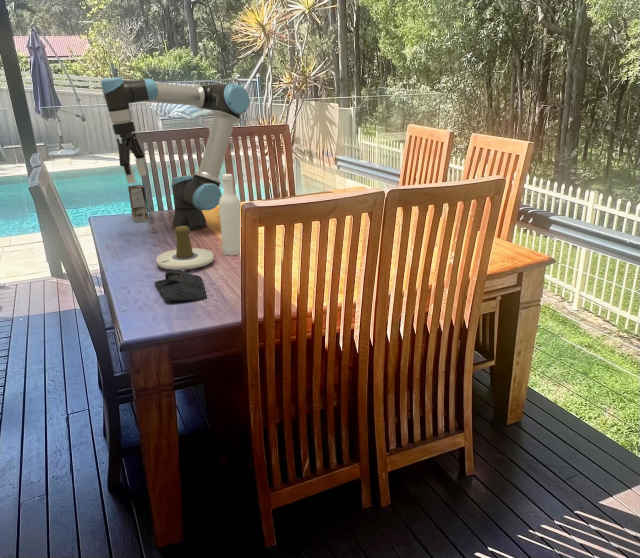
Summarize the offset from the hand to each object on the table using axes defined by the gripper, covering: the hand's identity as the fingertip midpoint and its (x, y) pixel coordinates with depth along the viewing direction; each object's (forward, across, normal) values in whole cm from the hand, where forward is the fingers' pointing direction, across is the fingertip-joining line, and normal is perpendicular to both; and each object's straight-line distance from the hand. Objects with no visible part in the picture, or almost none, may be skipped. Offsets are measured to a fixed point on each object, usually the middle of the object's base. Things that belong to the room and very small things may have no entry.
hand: (137, 179), depth 202 cm
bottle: (+31, +11, +33) cm, 46 cm away
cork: (+25, +24, +18) cm, 39 cm away
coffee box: (+27, -41, -19) cm, 53 cm away
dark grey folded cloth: (+28, +49, +22) cm, 61 cm away
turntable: (+27, +24, +18) cm, 40 cm away
